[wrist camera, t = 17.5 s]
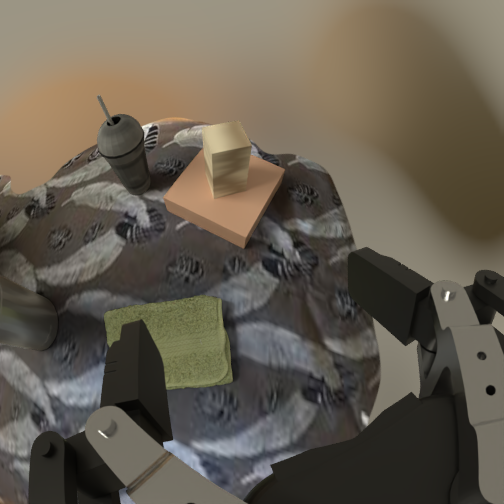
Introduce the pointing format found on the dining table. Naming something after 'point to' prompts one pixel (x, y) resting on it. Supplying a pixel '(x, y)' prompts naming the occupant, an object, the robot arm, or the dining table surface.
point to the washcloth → (182, 338)
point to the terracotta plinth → (224, 200)
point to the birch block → (226, 158)
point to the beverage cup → (124, 150)
